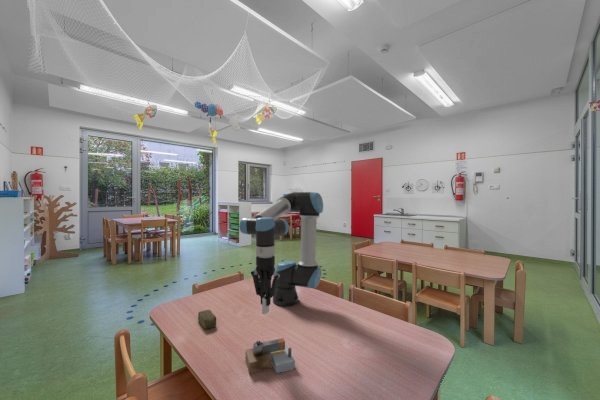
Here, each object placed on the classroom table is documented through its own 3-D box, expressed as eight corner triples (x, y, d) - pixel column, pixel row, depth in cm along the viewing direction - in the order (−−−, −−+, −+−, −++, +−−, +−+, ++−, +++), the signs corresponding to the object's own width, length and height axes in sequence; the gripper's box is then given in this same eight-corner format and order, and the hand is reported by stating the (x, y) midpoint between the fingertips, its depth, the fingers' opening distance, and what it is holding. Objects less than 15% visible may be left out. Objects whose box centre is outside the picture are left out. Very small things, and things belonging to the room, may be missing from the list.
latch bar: (254, 357, 92) (254, 345, 91) (252, 351, 95) (252, 340, 95) (285, 350, 96) (285, 339, 96) (282, 345, 99) (282, 334, 99)
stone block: (204, 331, 117) (204, 320, 117) (197, 321, 126) (197, 311, 126) (217, 327, 120) (217, 316, 120) (209, 317, 129) (209, 308, 129)
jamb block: (266, 355, 99) (266, 345, 99) (271, 368, 92) (271, 357, 92) (245, 360, 96) (245, 349, 96) (249, 374, 89) (249, 362, 89)
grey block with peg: (282, 345, 106) (282, 331, 106) (294, 368, 92) (295, 352, 92) (266, 349, 103) (266, 334, 103) (276, 373, 89) (276, 356, 89)
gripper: (246, 256, 101) (246, 313, 103) (275, 259, 96) (275, 320, 97) (256, 251, 108) (257, 305, 110) (283, 255, 103) (284, 311, 104)
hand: (265, 312), depth 103 cm, fingers closed
